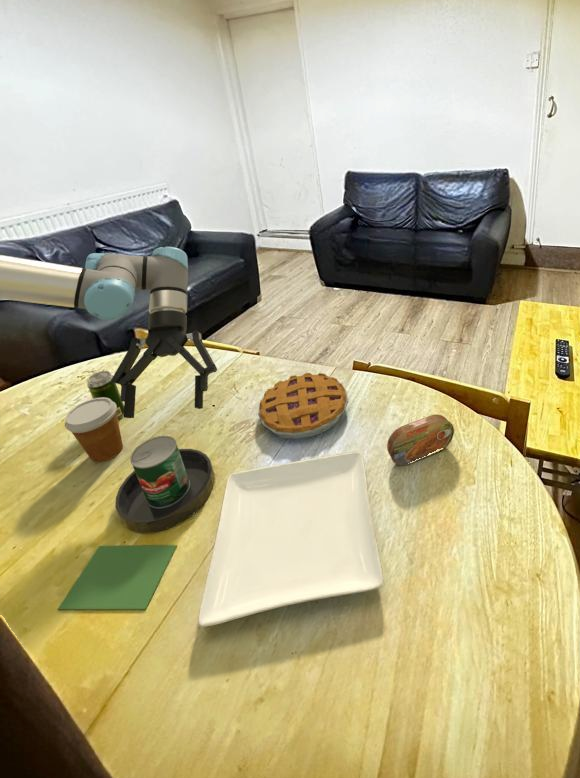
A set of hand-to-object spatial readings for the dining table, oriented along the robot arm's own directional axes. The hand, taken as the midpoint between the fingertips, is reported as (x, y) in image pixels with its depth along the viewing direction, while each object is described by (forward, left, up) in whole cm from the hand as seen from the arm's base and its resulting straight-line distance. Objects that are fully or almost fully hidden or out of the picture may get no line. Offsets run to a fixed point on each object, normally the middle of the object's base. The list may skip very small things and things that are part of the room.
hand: (164, 413), depth 84 cm
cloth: (+1, -24, -14) cm, 27 cm away
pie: (+24, +15, -14) cm, 32 cm away
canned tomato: (+1, -8, -14) cm, 16 cm away
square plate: (+29, -17, -14) cm, 36 cm away
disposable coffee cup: (-19, +3, -14) cm, 24 cm away
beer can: (-25, +15, -14) cm, 32 cm away
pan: (+1, -8, -14) cm, 16 cm away
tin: (+52, +1, -14) cm, 54 cm away
